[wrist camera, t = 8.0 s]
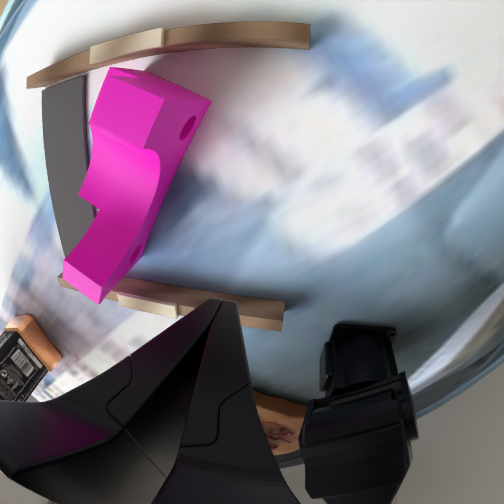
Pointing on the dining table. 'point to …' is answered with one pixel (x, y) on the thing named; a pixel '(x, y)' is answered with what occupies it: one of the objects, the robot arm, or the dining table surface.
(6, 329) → the whiskey bottle
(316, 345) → the dining table surface
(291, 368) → the dining table surface
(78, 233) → the trap mat
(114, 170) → the toy block
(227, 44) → the lane rails
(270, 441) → the plant
